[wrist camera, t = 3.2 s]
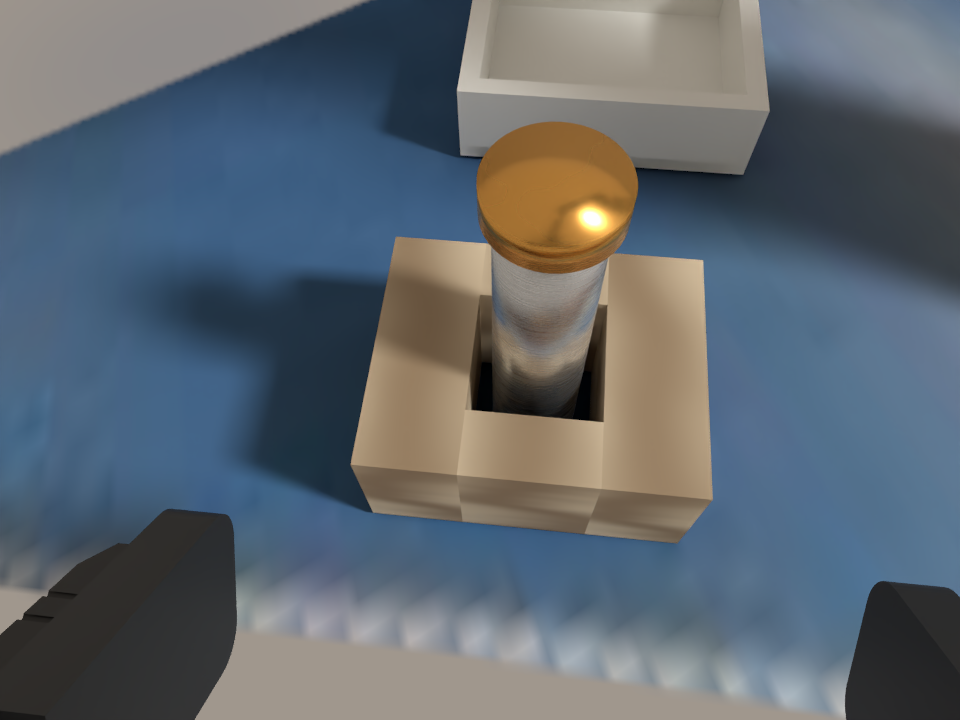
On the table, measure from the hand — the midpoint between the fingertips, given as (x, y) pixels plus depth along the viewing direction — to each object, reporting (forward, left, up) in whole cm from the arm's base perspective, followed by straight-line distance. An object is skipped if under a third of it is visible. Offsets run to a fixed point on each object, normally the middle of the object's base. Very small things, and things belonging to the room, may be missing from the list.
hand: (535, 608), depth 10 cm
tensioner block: (0, -9, -15) cm, 17 cm away
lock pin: (0, -9, -15) cm, 17 cm away
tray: (-2, -26, -15) cm, 30 cm away
